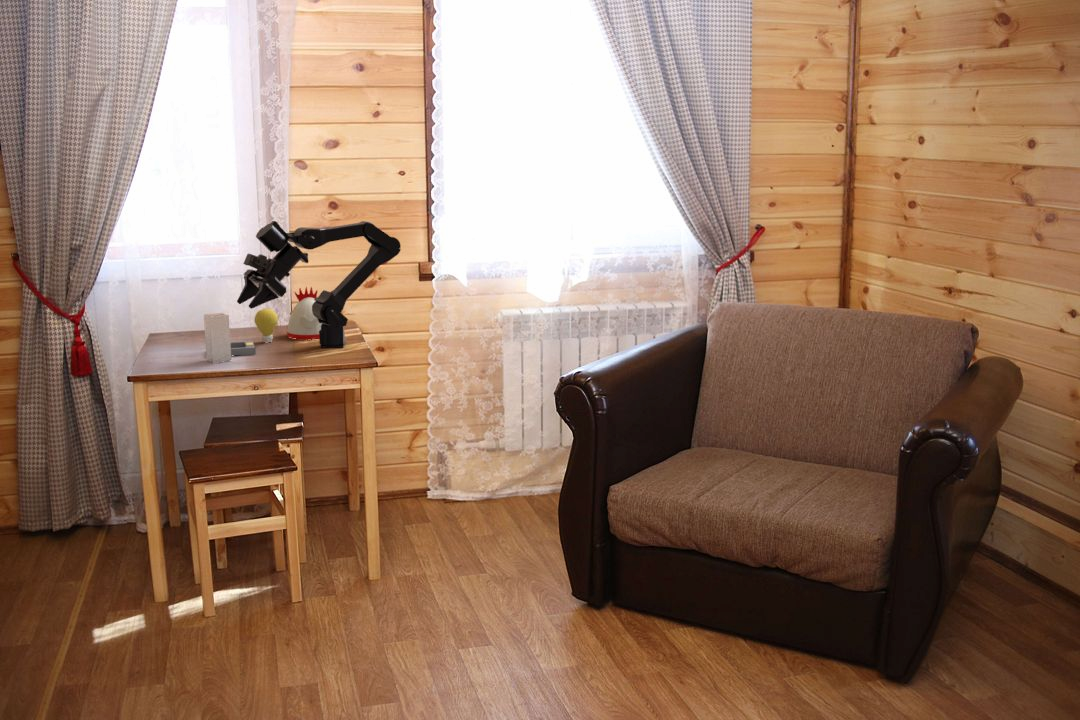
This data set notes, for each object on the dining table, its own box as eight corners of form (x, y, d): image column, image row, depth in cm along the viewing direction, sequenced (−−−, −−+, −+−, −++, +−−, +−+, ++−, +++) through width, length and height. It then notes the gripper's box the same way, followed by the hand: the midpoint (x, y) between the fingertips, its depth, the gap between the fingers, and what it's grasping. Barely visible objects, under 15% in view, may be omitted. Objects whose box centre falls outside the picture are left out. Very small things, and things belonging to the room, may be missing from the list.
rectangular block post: (224, 357, 290) (222, 312, 287) (231, 361, 286) (228, 315, 284) (206, 360, 287) (203, 314, 285) (213, 363, 283) (210, 317, 281)
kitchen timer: (288, 332, 327) (285, 284, 323) (333, 330, 329) (331, 282, 326) (286, 341, 313) (284, 290, 310) (334, 339, 316) (332, 289, 313)
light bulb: (267, 345, 307) (265, 311, 304) (250, 343, 310) (248, 309, 308) (284, 341, 312) (282, 308, 310) (267, 339, 316) (265, 306, 313)
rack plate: (252, 347, 304) (252, 340, 303) (255, 354, 294) (255, 346, 294) (212, 350, 300) (212, 342, 300) (214, 357, 291) (213, 349, 290)
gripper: (250, 240, 296) (211, 281, 292) (274, 246, 281) (234, 289, 277) (277, 267, 302) (240, 308, 298) (303, 275, 287) (263, 317, 283)
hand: (243, 305), depth 289 cm, fingers open, 9 cm apart
